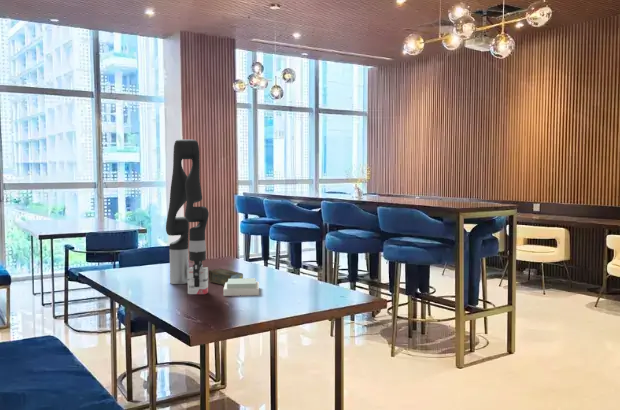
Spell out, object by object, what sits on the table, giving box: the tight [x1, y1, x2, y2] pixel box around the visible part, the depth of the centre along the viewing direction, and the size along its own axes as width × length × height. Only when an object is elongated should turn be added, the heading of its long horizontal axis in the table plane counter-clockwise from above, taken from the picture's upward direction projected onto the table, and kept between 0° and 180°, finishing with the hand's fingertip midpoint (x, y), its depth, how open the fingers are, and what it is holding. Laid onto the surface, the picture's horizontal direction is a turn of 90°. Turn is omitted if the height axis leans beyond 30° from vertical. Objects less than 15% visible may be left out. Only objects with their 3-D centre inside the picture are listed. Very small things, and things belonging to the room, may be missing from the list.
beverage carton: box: [208, 267, 244, 286], centre depth 281 cm, size 8×19×7 cm, turn 45°
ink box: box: [187, 266, 209, 295], centre depth 257 cm, size 9×5×12 cm, turn 84°
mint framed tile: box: [222, 277, 260, 297], centre depth 260 cm, size 16×16×5 cm
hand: (197, 285), depth 257 cm, fingers open, 8 cm apart
